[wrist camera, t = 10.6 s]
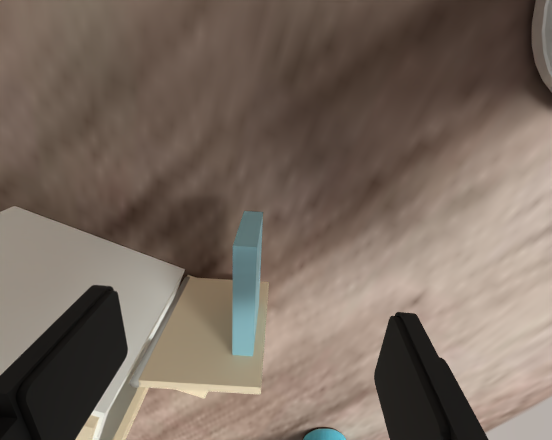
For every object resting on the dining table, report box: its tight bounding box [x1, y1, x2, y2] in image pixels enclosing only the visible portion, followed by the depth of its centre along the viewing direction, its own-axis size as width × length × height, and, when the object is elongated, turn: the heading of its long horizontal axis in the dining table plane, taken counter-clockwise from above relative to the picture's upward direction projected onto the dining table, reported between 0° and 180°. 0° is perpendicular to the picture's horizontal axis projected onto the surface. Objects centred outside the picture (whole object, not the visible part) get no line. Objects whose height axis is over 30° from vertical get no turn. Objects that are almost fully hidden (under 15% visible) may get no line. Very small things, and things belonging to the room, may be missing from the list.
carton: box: [0, 206, 208, 440], centre depth 22 cm, size 20×14×13 cm
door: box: [129, 211, 269, 394], centre depth 19 cm, size 8×7×10 cm
